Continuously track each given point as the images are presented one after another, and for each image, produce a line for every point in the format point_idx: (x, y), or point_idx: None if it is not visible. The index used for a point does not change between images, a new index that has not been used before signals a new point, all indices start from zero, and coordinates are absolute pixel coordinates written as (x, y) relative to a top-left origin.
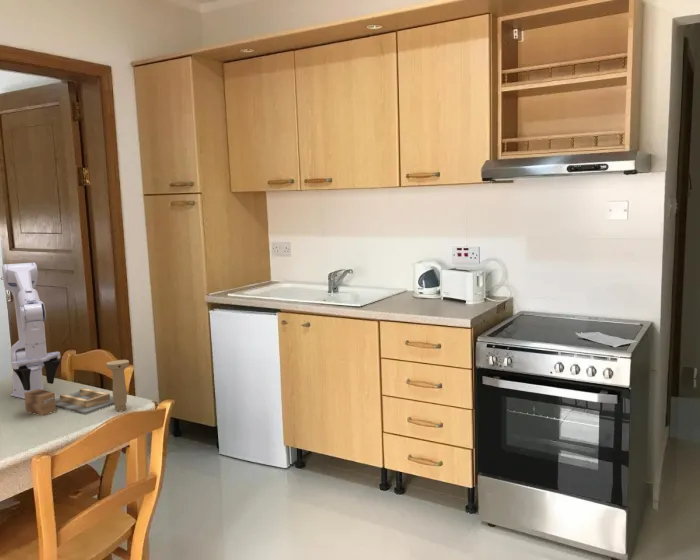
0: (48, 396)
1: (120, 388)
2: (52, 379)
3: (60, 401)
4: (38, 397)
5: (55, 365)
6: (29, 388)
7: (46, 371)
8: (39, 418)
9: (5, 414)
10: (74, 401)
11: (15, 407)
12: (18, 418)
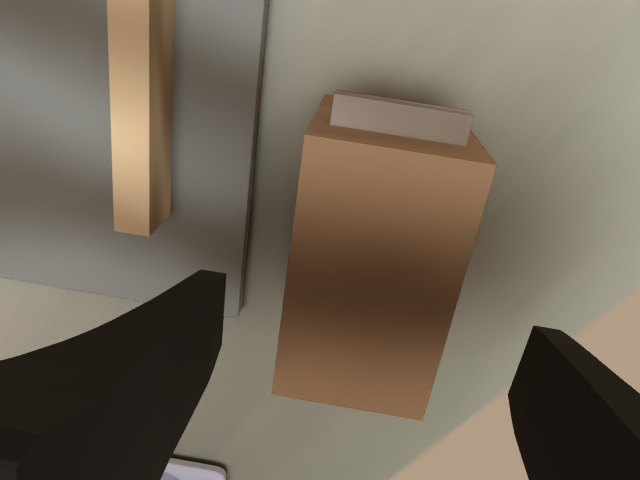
0: (388, 141)
1: None
2: (200, 288)
3: (171, 210)
4: (481, 200)
5: (29, 393)
6: (555, 335)
7: (157, 474)
8: (526, 78)
9: (501, 393)
10: (161, 3)
11: (363, 433)
12: (560, 248)
